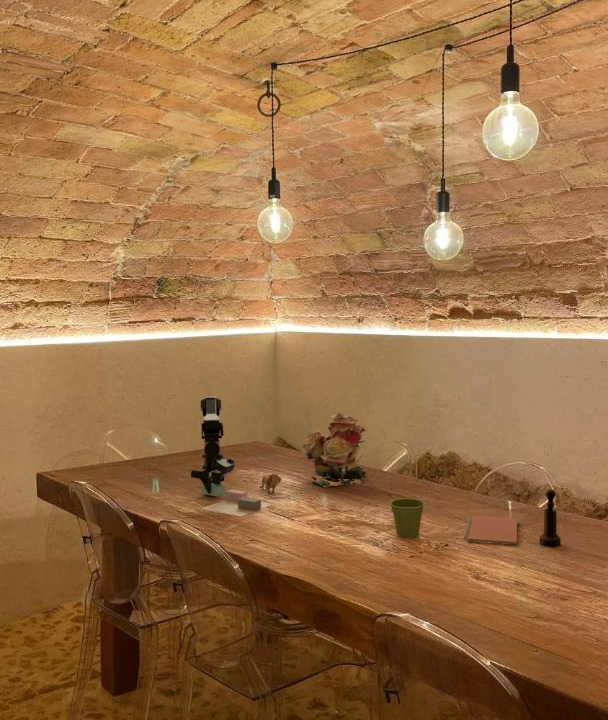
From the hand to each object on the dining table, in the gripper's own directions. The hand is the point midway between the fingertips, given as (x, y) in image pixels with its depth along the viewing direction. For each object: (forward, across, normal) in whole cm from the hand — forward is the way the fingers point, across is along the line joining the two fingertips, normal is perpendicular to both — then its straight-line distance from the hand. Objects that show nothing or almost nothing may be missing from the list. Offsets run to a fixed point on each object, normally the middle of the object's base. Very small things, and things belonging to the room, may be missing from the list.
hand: (213, 492), depth 290 cm
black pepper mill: (+7, +26, -120) cm, 123 cm away
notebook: (+8, +29, -99) cm, 104 cm away
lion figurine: (+7, +33, -3) cm, 33 cm away
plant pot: (+7, +10, -77) cm, 78 cm away
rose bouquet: (+7, +64, -16) cm, 67 cm away
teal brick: (+1, 0, 0) cm, 1 cm away
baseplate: (+7, +7, -6) cm, 12 cm away
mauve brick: (+6, +14, 0) cm, 15 cm away
